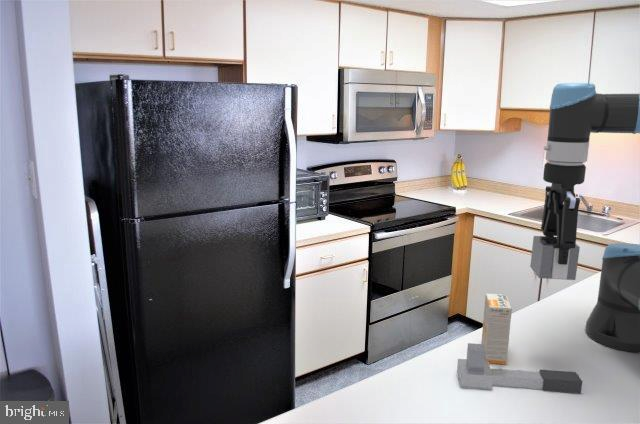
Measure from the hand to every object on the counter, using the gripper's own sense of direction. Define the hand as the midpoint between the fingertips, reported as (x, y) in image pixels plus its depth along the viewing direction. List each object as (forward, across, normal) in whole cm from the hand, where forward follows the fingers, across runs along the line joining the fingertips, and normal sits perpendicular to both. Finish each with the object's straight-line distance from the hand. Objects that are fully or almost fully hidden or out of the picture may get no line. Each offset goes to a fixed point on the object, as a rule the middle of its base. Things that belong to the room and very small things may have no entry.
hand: (553, 271), depth 108 cm
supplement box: (+21, -2, -10) cm, 23 cm away
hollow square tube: (0, 0, 0) cm, 0 cm away
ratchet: (+21, +10, -8) cm, 24 cm away
